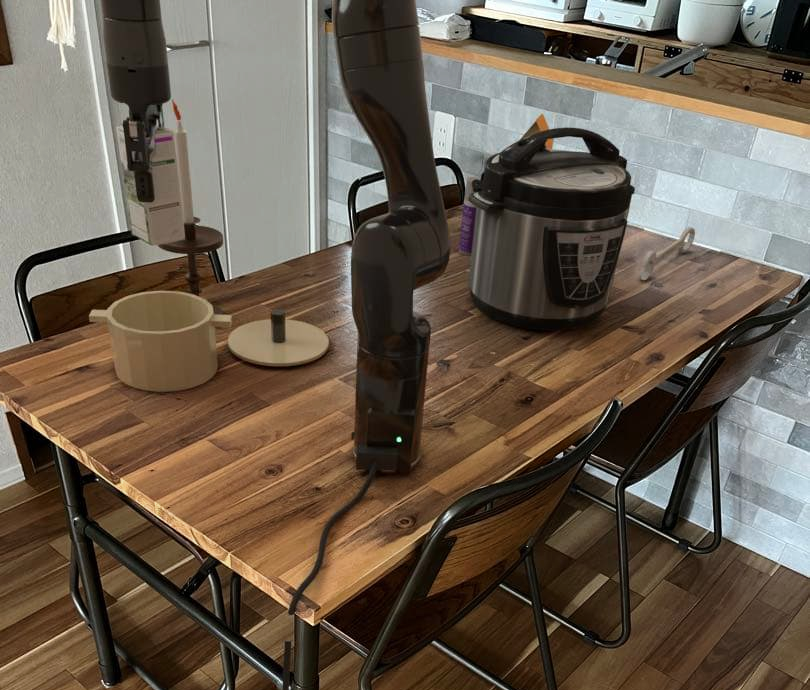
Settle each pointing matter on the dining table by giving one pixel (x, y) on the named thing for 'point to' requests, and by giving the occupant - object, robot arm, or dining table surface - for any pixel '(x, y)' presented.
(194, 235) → the candlestick
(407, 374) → the robot arm
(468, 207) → the container
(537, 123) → the orange juice
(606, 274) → the pressure cooker
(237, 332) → the lid
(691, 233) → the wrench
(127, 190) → the syrup box
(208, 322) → the pot
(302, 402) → the dining table surface
